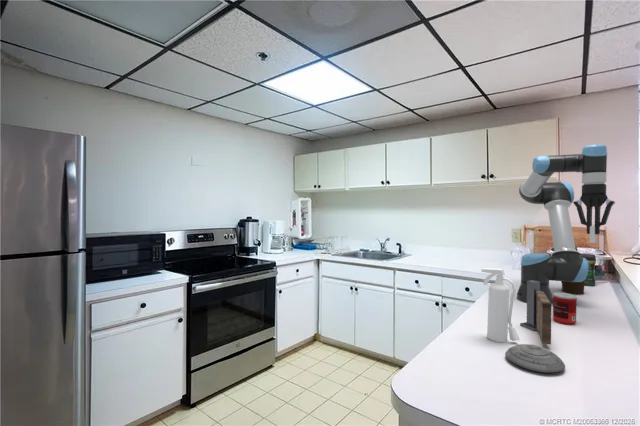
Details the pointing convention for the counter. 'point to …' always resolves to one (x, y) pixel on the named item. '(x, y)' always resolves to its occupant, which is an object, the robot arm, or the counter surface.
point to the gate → (544, 317)
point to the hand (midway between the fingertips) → (592, 242)
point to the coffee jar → (590, 269)
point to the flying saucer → (535, 358)
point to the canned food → (564, 308)
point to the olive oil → (573, 286)
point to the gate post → (531, 305)
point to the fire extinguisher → (499, 307)
